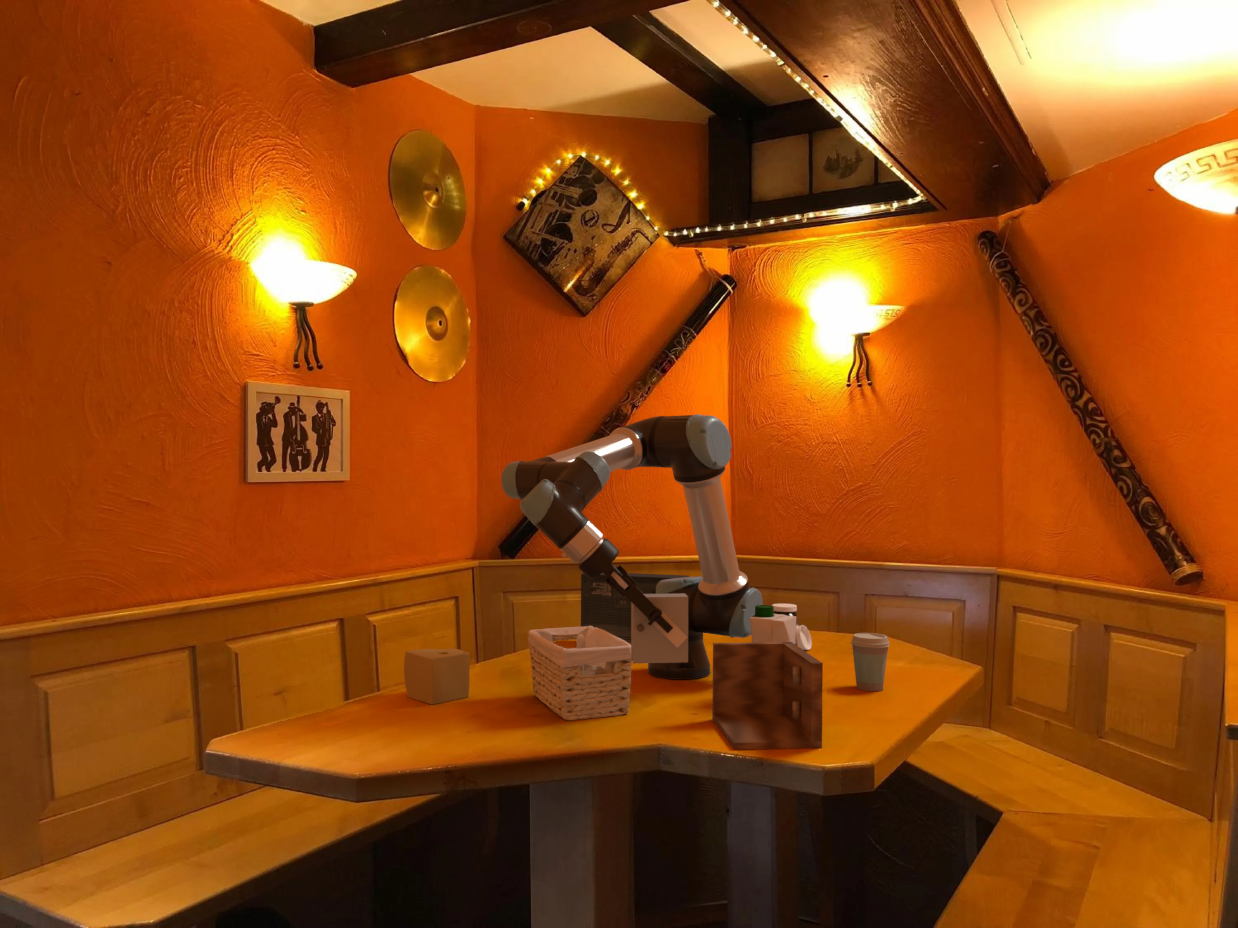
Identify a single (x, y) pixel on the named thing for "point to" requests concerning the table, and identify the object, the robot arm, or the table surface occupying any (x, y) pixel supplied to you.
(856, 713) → the table surface
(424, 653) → the beige cube with hole
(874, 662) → the coffee cup
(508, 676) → the table surface
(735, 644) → the cabinet
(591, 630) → the storage basket
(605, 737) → the table surface
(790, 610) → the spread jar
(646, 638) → the door
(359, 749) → the table surface
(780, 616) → the milk carton
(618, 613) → the cassette player
